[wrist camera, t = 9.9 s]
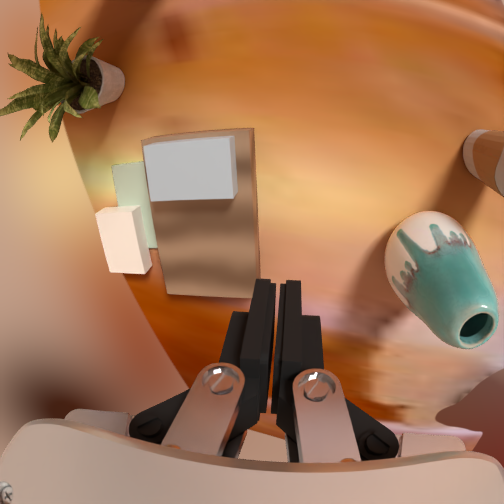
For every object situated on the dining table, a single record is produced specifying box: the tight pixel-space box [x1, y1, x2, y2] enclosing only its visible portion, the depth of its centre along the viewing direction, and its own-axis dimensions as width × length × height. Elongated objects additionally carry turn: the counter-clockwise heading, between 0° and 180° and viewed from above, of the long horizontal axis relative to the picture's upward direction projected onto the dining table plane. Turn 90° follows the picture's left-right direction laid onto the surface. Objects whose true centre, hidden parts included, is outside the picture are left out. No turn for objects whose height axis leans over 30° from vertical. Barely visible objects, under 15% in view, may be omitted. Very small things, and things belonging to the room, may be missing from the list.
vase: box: [384, 211, 499, 349], centre depth 27 cm, size 12×12×18 cm
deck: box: [141, 128, 261, 298], centre depth 36 cm, size 20×12×4 cm, turn 3°
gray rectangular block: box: [143, 136, 238, 201], centre depth 30 cm, size 9×6×2 cm, turn 93°
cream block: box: [95, 205, 152, 274], centre depth 39 cm, size 9×6×2 cm, turn 3°
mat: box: [112, 161, 158, 248], centre depth 38 cm, size 12×7×1 cm, turn 3°
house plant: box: [0, 14, 125, 142], centre depth 24 cm, size 14×14×16 cm
